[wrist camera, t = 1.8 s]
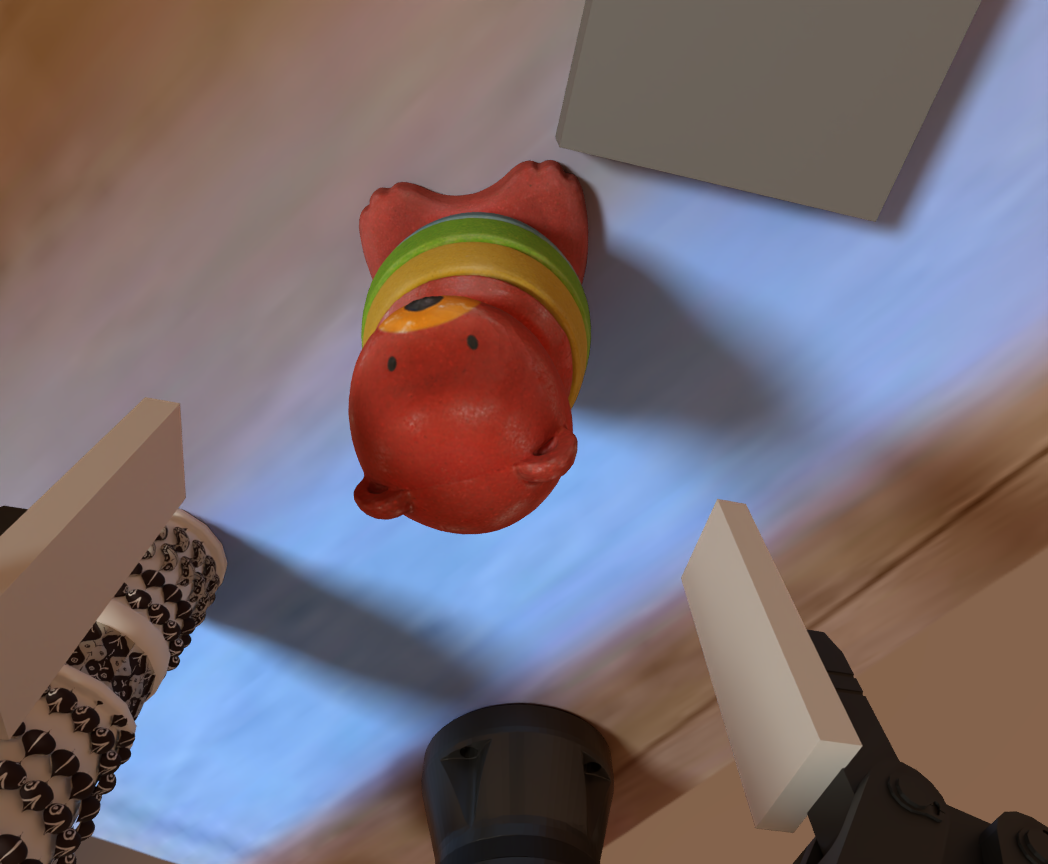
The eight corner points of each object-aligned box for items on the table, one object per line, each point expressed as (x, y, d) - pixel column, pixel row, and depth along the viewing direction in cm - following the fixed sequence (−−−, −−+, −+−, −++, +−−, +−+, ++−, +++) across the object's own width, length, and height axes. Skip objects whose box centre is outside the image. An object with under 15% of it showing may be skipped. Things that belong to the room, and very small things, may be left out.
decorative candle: (72, 483, 39) (-480, 1023, 17) (232, 508, 40) (-102, 1047, 18) (91, 594, 43) (-330, 1132, 22) (234, 614, 44) (-33, 1146, 23)
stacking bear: (579, 150, 30) (644, 259, 15) (600, 352, 35) (665, 591, 20) (350, 189, 31) (182, 331, 15) (403, 381, 36) (317, 632, 20)
